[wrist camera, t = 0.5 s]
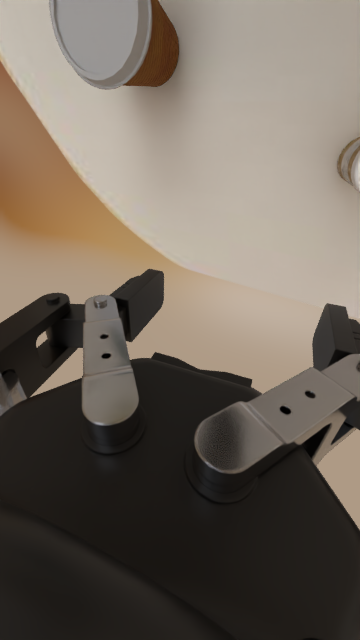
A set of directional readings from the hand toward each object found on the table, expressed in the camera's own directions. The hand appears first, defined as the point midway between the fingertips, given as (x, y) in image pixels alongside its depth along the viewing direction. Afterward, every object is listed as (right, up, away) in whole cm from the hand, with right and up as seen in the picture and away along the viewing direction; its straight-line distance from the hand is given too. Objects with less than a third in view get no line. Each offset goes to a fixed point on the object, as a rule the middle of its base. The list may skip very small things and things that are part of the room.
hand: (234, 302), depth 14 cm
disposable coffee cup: (-6, +31, +19) cm, 36 cm away
